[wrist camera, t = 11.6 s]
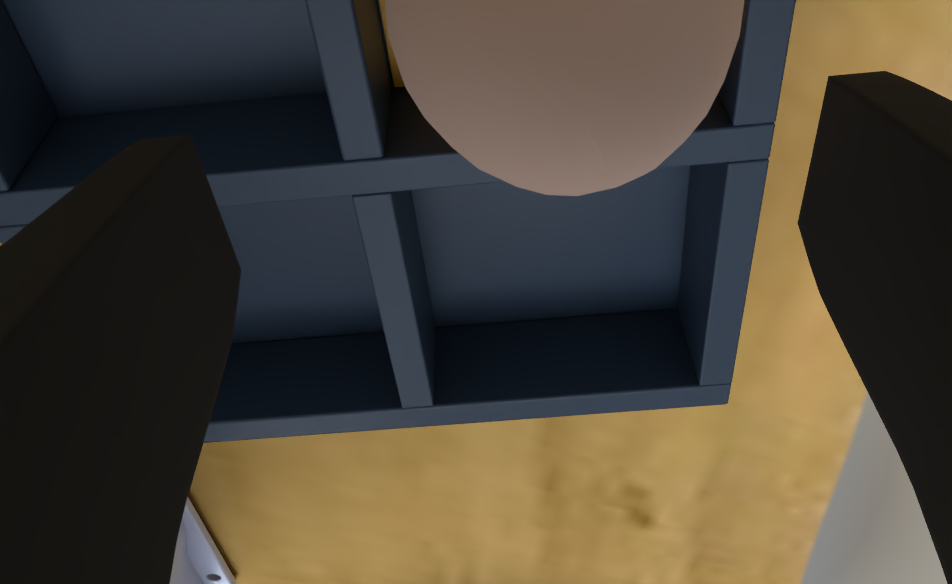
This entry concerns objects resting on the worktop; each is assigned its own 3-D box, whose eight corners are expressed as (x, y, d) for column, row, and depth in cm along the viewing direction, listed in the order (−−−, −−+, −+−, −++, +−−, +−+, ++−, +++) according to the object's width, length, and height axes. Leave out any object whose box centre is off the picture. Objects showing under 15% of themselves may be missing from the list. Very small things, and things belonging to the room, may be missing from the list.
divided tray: (700, 313, 23) (728, 405, 21) (159, 356, 24) (126, 449, 22) (786, -399, 13) (861, -380, 11) (-167, -284, 14) (-300, -241, 11)
